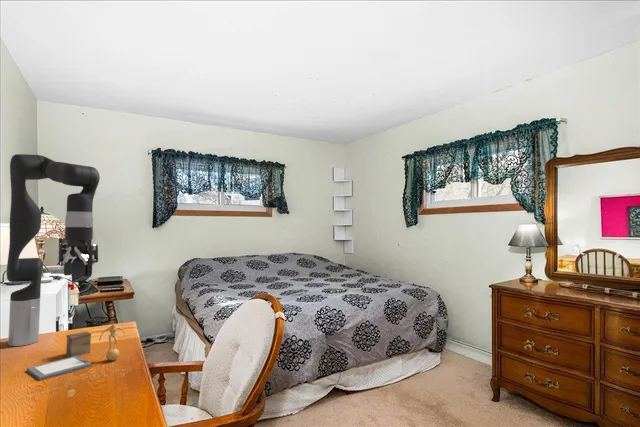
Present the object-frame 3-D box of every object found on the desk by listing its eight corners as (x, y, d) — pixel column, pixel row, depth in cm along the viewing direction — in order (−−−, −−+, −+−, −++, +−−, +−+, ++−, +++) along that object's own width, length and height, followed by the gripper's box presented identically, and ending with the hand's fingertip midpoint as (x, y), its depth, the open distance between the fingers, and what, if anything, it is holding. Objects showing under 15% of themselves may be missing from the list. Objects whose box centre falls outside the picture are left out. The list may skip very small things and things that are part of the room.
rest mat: (26, 370, 114) (27, 367, 114) (76, 357, 125) (76, 355, 125) (40, 380, 107) (40, 377, 107) (91, 366, 118) (91, 363, 118)
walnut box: (65, 355, 128) (66, 335, 128) (85, 350, 133) (85, 331, 133) (71, 357, 125) (71, 337, 125) (90, 353, 130) (91, 333, 131)
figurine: (98, 364, 120) (100, 328, 120) (97, 359, 125) (99, 324, 125) (126, 359, 124) (128, 325, 125) (124, 354, 129) (125, 321, 130)
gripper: (51, 225, 115) (50, 276, 114) (84, 225, 110) (83, 278, 110) (74, 226, 122) (72, 273, 121) (106, 226, 117) (104, 275, 117)
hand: (77, 275), depth 115 cm, fingers open, 8 cm apart
